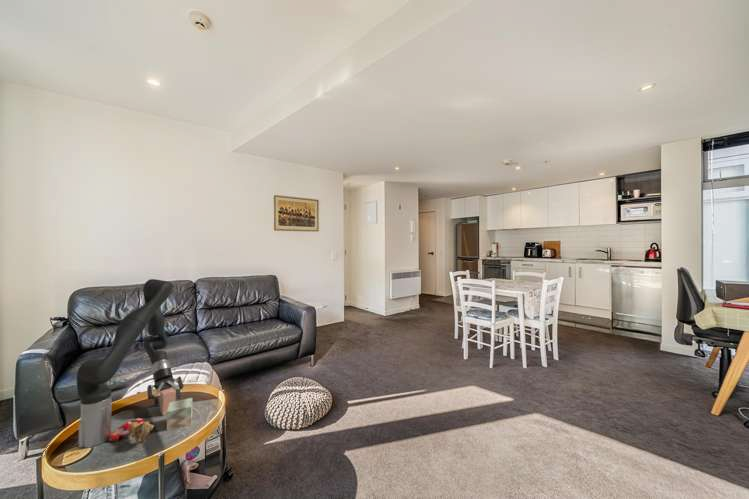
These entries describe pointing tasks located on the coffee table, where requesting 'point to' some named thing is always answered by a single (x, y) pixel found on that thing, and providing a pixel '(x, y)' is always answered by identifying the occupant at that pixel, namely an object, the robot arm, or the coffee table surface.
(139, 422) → the race car
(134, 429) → the lion figurine
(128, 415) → the coffee table surface
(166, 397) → the terracotta brick
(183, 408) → the sage green base block
